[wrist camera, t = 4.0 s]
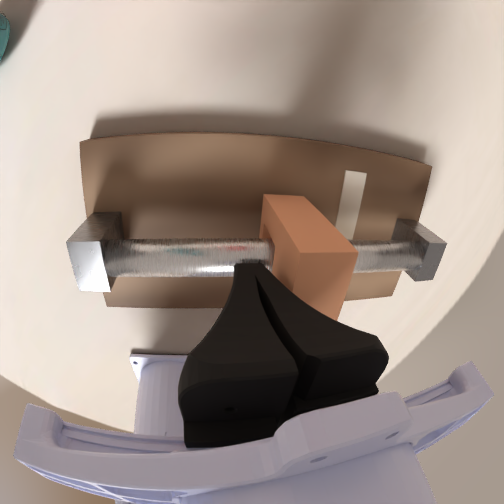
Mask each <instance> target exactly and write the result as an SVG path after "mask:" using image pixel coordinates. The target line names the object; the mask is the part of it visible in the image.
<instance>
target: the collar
mask: <svg viewBox="0 0 504 504" xmlns="http://www.w3.org/2000/svg"><path fill="white" fill-rule="evenodd" d="M259 238H272V240H273V243H274V245H275V252H274V260H273V267H272V274H273V275H274V276H275V277H276V278H277V279H278V280H279V281H280V282H281V283H282V284H283V285H284V286H286V287H287V288H288V289H289V290H290V291H291V292H292V293H294V294H295V295H296V296H297V297H299V298H300V299H301V300H302V301H304V302H305V303H307V304H308V305H310V306H311V307H313V308H314V309H316V310H317V311H319V312H321V313H322V314H324V315H326V316H328V317H330V318H332V319H333V320H336V321H337V319H338V316H339V314H340V311H341V308H342V305H343V302H344V299H345V296H346V293H347V290H348V287H349V284H350V281H351V277H352V274H353V271H354V267H355V264H356V261H357V257H358V254H359V252H358V251H357V250H356V249H355V248H354V246H353V245H352V244H351V243H350V242H349V241H348V240H347V239H346V238H345V237H344V236H343V235H342V234H341V233H340V232H339V231H338V230H337V229H336V228H335V227H334V226H333V225H332V224H331V223H330V221H329V220H328V219H327V218H326V217H325V216H324V215H323V214H322V213H321V212H320V211H319V210H318V209H316V208H315V207H314V206H313V205H312V204H311V203H310V202H309V201H308V200H307V199H306V198H305V197H304V196H293V195H272V194H264V195H263V205H262V215H261V225H260V235H259Z"/></svg>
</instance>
